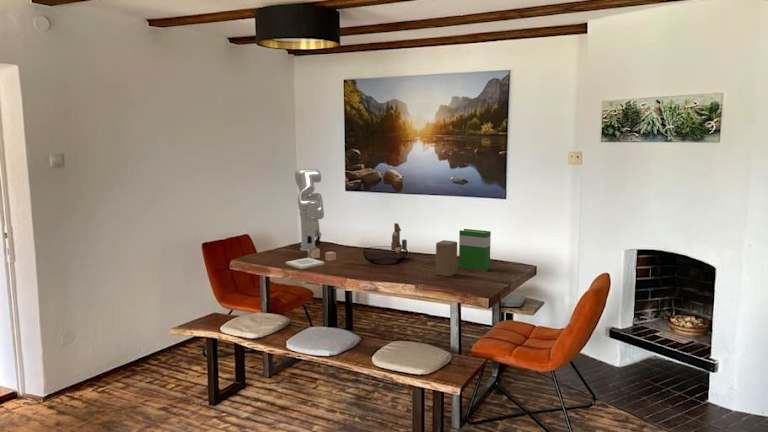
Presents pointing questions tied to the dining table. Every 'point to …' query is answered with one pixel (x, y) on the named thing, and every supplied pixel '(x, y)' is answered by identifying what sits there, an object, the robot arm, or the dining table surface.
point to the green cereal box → (474, 249)
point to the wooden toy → (397, 240)
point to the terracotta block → (330, 256)
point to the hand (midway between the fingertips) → (313, 244)
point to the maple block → (313, 253)
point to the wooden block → (446, 258)
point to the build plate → (305, 263)
